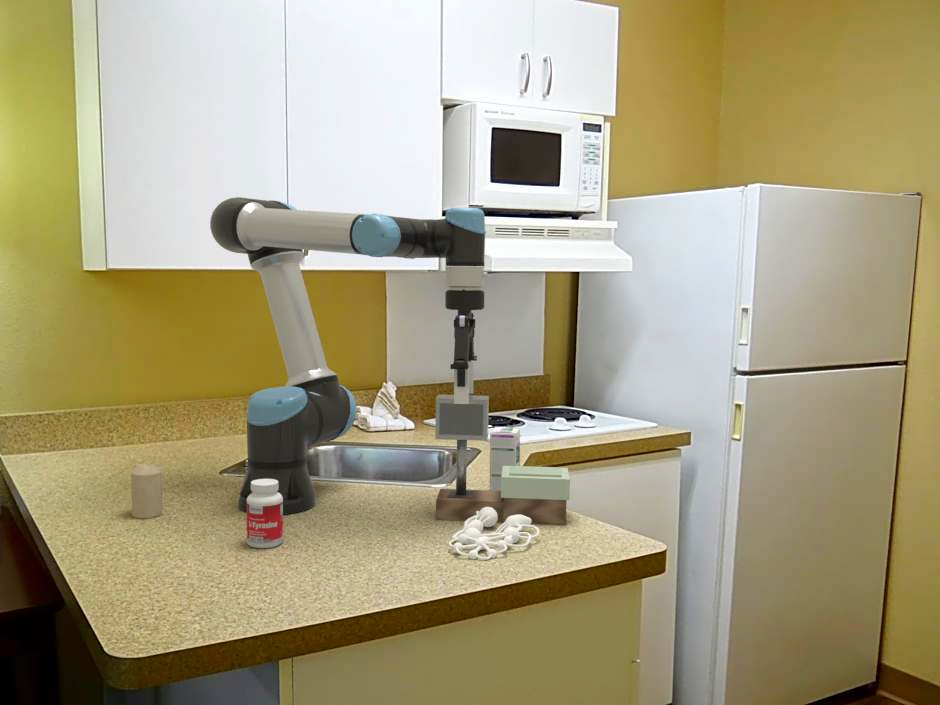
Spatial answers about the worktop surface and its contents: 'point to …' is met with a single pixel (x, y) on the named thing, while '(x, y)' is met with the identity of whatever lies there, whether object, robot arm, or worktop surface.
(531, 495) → the cover
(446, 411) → the block
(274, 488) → the pill bottle
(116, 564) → the worktop surface
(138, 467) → the candle
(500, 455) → the syrup box
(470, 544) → the tangled rod sculpture
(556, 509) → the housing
